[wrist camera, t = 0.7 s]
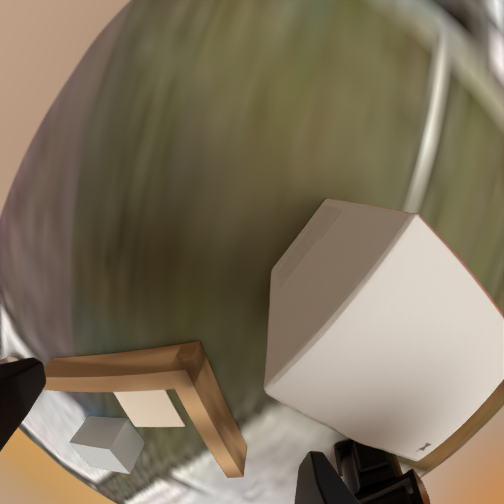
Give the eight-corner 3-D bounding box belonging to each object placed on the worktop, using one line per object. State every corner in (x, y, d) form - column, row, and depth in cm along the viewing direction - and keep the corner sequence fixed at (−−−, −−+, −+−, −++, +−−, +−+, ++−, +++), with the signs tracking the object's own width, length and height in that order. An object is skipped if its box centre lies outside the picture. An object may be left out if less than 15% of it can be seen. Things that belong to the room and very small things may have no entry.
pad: (185, 425, 24) (185, 426, 24) (135, 425, 25) (135, 426, 24) (159, 377, 23) (159, 379, 22) (108, 381, 23) (107, 382, 23)
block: (145, 442, 25) (130, 473, 20) (106, 439, 26) (89, 466, 21) (128, 417, 25) (109, 449, 20) (89, 415, 25) (69, 442, 20)
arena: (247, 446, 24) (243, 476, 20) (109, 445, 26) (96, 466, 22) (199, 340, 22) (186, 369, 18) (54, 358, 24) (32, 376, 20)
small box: (408, 264, 19) (529, 350, 6) (354, 331, 20) (417, 466, 8) (325, 194, 19) (417, 207, 6) (267, 269, 20) (256, 397, 7)
